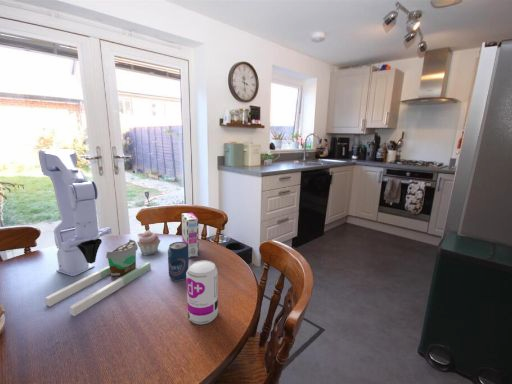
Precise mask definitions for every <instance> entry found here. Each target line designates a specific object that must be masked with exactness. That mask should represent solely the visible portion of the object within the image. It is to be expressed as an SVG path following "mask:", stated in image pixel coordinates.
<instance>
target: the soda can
mask: <svg viewBox="0 0 512 384" xmlns="http://www.w3.org/2000/svg"><path fill="white" fill-rule="evenodd" d="M189 259H190V258H189V254H188V247H187V246H186V243H184V242H182V241H176V242H172V243H170V244H169V247H168V250H167V261H168V262H167V265H168V267H167V268H168V277H169V278H170V279H171V280H172V281H176V282H178V281H183V280H185V279H187V277H186V272H187V270H188V268H189V266H190V261H189Z"/></svg>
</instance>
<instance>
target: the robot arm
mask: <svg viewBox="0 0 512 384" xmlns="http://www.w3.org/2000/svg"><path fill="white" fill-rule="evenodd" d="M38 160H39V165H40V168H41V173H42V174H43V176H45V177H49V178H50V181H51V183H52V185H53V191H54V194H55V199H56V203H57V206H58V211H59V214H60V215H59V216H60V220H61V221H60V223H59V224H58V225H56V226H55V227H54V230H53V235H54V242H55V246H56V248H57V249H58V250H57V252H56V258H57V266H58V268H57V269H56V272H58V273H61V274H65V275H67V276H71V277H75V276H76V277H77V276H78V275H80V274H82V273H84V272H86V271H89V270H90V269H92V268H94V267H95V264H94V263H95V262H96V259H97V254H98V252H99V248H100V247H101V244H102V243H103V241H102V239H101V237H103V236H105V235H110V234H112V227H108V226H106V227H103V228H99V222H98V215H97V204H96V200H97V199H98V195H99V193H98V187H97V185H96V182H95V181H94V180H91V179H88V178H87V176H86V175H85V174H84V172H83V171H82V170H81V169H79V168H78V167H77V164H78V156H77V153H76V151H75V150H74V149H73V148H69V149H67V148H66V149H65V148H64V149H44V148H43V149H42V148H41V149H40V150H39V151H38Z"/></svg>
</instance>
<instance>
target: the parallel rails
mask: <svg viewBox="0 0 512 384" xmlns="http://www.w3.org/2000/svg"><path fill="white" fill-rule="evenodd" d="M151 269H152V268H151V262H148V261H147V262H144V263H143V264H142V265H139V266H137V267H136V269H134V270H133V271H131V272H129V273H127V274H126V275H124V276H122V277H118V278H117V279H115V280H114V281H112V282H110V283H108V284H107V285H105V286H104V287H101V288H100V289H98V290H96V291H95V292H92V293H91V294H90V295H87V296H85V297H84V298H82V299H81V300H79V301H77V302H75V303H74V304H72V305H70V306H69V311H70V315H71V316H73V317H76V316H78V315H79V314H80V313H82V312H84V311H85V310H87V309H88V308H89V309H90V307H92V306H94V305H95V304H96V303H98V302H100V301H102V300H103V299H104V298H105V299H106V297H108V296H110V295H111V294H112V293H114V292H117V291H118V290H119V289H121V288H123V287H124V286H125V285H127V284H129V283H130V282H132V281H134V280H135V279H137V278H138V277H140V276H142V275H143V274H146V273H147V272H149V270H151ZM109 275H111V271H110V266H109V265H107V266H105V267H103V268H101V269H99V270H97V271H95V272H93V273H91V274H89V275H87V276H85V277H83V278H81V279H79V280H77V281H76V282H73V283H71V284H69V285H67V286H65V287H63V288H61V289H59V290H57V291H55V292H53V293H51V294H49V295H47V296H45V297H44V298H45V299H44V300H45V304H46V306H48V307H51V306H53V305H55V304H57V303H59V302H61V301H62V300H64V299H66V298H69V297H70V296H71V295H74V294H76V293H77V292H79V291H81V290H83V289H86V288H87V287H88V286H90V285H92V284H94V283H96V282H98V281H100V280H102V279H103V278H105V277H107V276H109Z"/></svg>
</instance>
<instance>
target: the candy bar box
mask: <svg viewBox="0 0 512 384" xmlns="http://www.w3.org/2000/svg"><path fill="white" fill-rule="evenodd" d="M181 239H182V241H181V242H184V243H186V246H187V247H188V254H189V259H190V258H191V259H192V258H197V257H199V256H200V255H199V253H200V252H199V248H200V247H199V246H200V245H199V243H200V242H199V218H198V217H197V216H196V215H195V214H194V213H193V212H183V213H181Z"/></svg>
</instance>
